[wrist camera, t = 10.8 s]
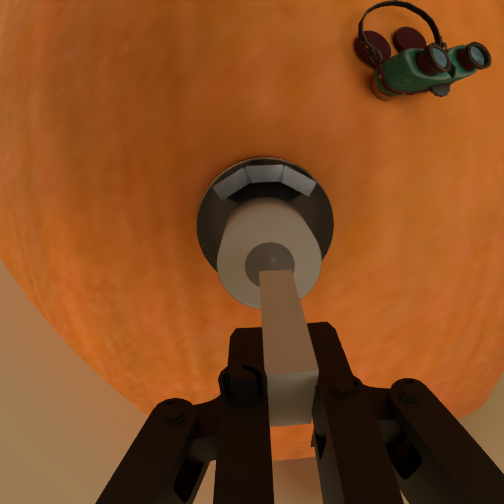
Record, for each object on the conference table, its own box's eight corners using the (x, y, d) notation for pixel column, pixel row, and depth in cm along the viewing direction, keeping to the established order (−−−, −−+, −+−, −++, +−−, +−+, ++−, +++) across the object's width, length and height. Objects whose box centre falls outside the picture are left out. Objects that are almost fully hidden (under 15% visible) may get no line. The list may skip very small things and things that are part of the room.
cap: (221, 196, 22) (211, 218, 17) (304, 192, 22) (323, 212, 16) (228, 271, 25) (222, 313, 19) (304, 267, 25) (319, 307, 19)
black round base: (197, 159, 25) (184, 165, 20) (323, 153, 25) (341, 158, 20) (209, 273, 29) (201, 302, 24) (321, 267, 29) (335, 295, 24)
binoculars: (452, -27, 9) (509, 83, 12) (403, 16, 19) (442, 100, 22) (362, -34, 10) (432, 94, 13) (330, 25, 21) (372, 116, 23)
